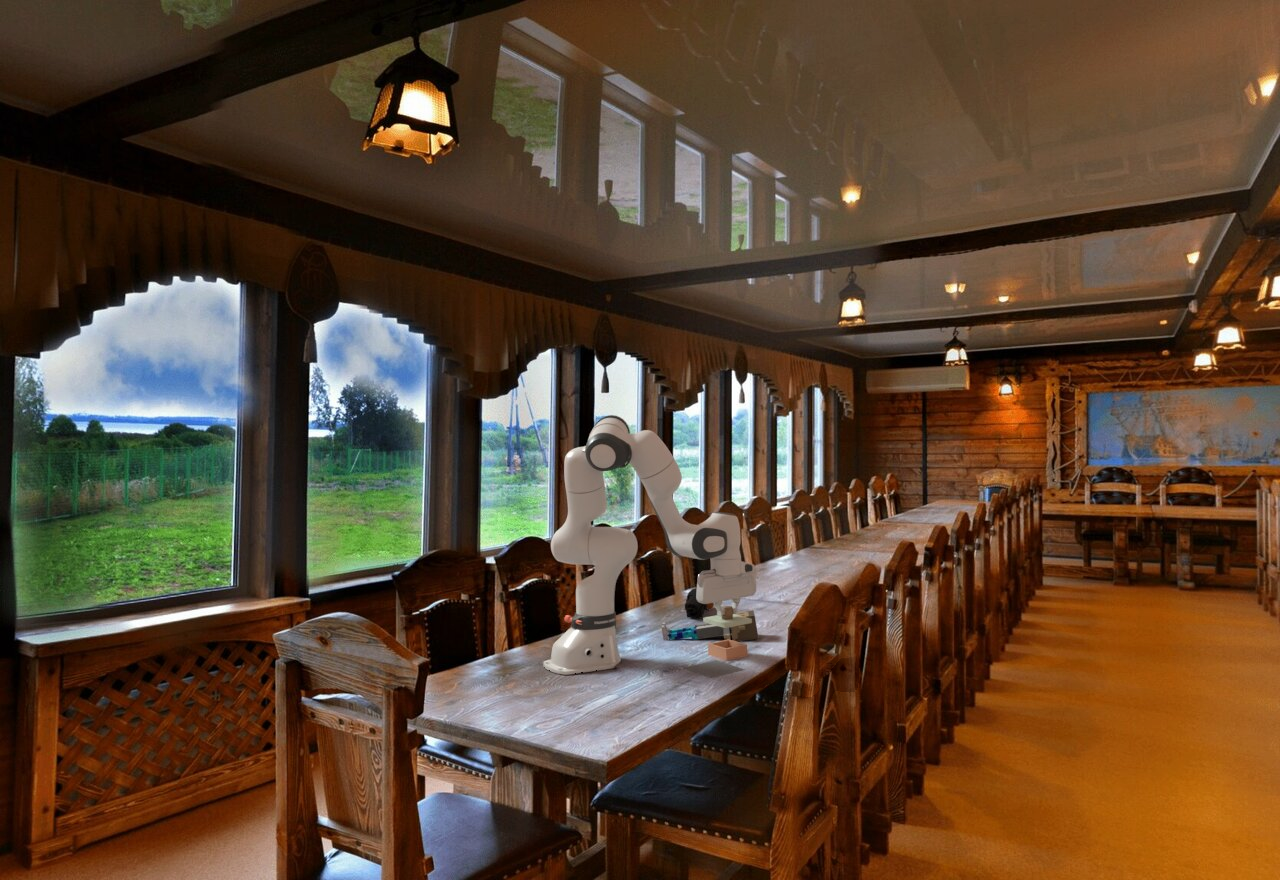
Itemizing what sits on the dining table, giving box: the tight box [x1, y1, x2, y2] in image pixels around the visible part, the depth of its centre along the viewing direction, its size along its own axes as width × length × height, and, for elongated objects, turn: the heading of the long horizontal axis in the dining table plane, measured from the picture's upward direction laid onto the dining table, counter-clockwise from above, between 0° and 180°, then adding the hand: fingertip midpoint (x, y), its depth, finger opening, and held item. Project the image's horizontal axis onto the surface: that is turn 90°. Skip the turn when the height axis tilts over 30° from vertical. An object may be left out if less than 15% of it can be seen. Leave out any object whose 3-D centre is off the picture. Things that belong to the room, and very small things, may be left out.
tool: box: [684, 581, 715, 619], centre depth 283 cm, size 8×23×15 cm, turn 160°
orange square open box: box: [707, 639, 748, 661], centre depth 223 cm, size 8×8×4 cm
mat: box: [683, 659, 746, 679], centre depth 210 cm, size 12×12×1 cm
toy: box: [660, 610, 759, 642], centre depth 248 cm, size 26×8×30 cm
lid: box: [702, 605, 752, 628], centre depth 223 cm, size 10×10×4 cm
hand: (727, 614), depth 223 cm, fingers closed on lid, 3 cm apart
